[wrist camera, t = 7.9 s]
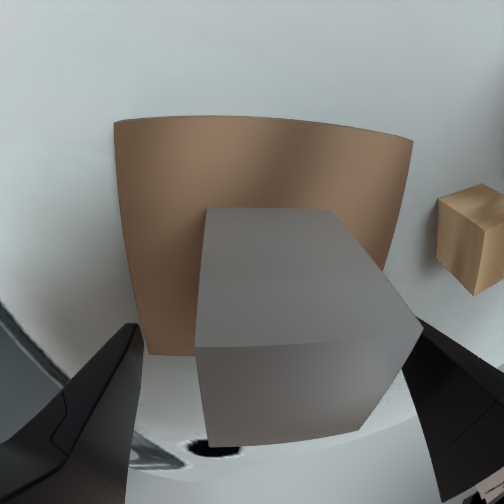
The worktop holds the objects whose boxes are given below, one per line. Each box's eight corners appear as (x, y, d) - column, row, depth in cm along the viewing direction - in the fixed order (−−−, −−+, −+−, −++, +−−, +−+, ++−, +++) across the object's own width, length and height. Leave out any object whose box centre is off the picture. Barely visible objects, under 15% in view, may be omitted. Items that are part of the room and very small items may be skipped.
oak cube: (481, 183, 13) (527, 210, 10) (477, 238, 15) (515, 270, 12) (436, 197, 13) (484, 230, 10) (435, 257, 15) (473, 296, 12)
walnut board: (399, 136, 11) (413, 140, 10) (348, 333, 17) (354, 346, 16) (123, 119, 10) (113, 122, 9) (152, 339, 16) (149, 354, 15)
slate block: (330, 210, 12) (423, 328, 6) (312, 305, 14) (358, 430, 8) (206, 207, 11) (194, 346, 5) (209, 307, 14) (209, 447, 8)
